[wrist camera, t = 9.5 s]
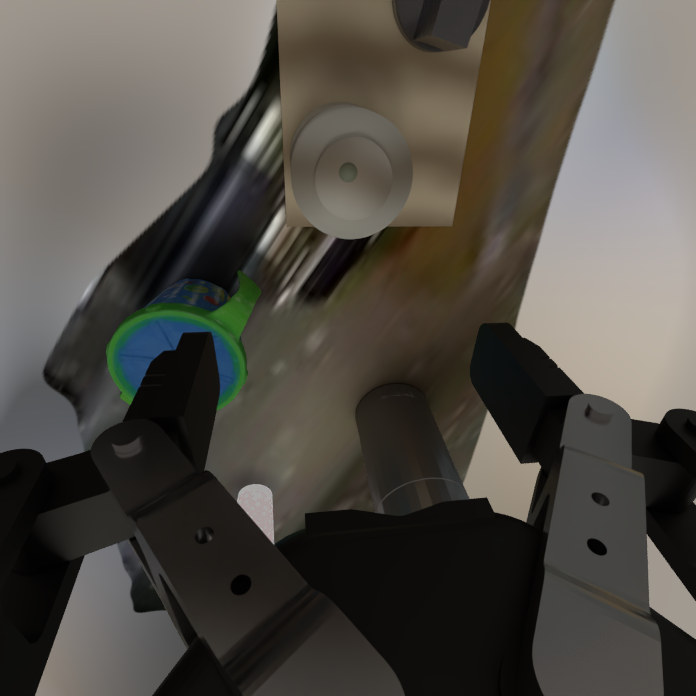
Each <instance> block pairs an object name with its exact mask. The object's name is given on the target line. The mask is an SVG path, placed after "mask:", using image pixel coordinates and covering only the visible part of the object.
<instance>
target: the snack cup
mask: <svg viewBox="0 0 696 696" xmlns="http://www.w3.org/2000/svg"><path fill="white" fill-rule="evenodd" d="M237 274H238V277H239V283H240V286H239V290H238V291H237V292H236V294H235V295H233V296H232V297H230V296H229V294H228V293H227V292H226V290H224V289H223V288H222V287H219V286H217V285H215V284H213V283H211V282H208V281H205V280H201V279H189V278H186V279H182V280H179V281H178V282H176V283H174V284H172V285H170V286H169V287H168V288H166V289H165V290H163V291H162V292H161V293H160V294H159V295H158V296H157V297H155V298H154V299H153V300H152V301H151V302H150V303H149V304H147V305H146V306H145V307H144V308H142V309H140V310H138V311H137V312H135V313H133V314H131V315H130V316H128V317H127V318H126V319H125V320H124V321H123V322H122V323H121V324H120V325H119V327H118V328H117V330H116V331H115V333H114V335H113V337H112V339H111V341H109V343H108V344H107V349H106V354H107V363H108V368H109V371H110V374H111V376H112V378H113V380H114V382H115V383H116V385H117V386H118V388H119V389H120V390H121V393H120V398H121V399H122V400H124V401H125V402H127V403H128V404H130V405H131V403H132V401H133V399H134V396H135V394H136V392H137V390H138V388H139V387H140V384H141V382H142V380H143V377H144V376H145V373H146V371H147V369H148V367H149V365H150V363H151V361H152V360H153V359H155V358H156V357H157V356H158V355H159V354H161V353H162V352H163V351H167V350H176V348H177V345H178V343H179V340H180V338H181V335H182V333H184V332H211V333H212V336H213V340H214V346H215V353H216V359H217V365H218V371H219V377H220V396H219V401H218V406H217V410H219V409H221V408H223V407H224V406H226V405H227V404H229V403H230V402H231V401H232V400H233V399H234V398H235V397H236V395H237V394H238V393H239V391H240V389H241V387H242V385H243V384H245V382H246V379H247V376H248V371H247V369H246V368H247V366H246V365H247V359H246V353H245V350H244V346H243V344H242V342H241V333H242V331H243V329H244V327H245V325H246V324H247V321H248V318H249V317H250V315H251V313H252V310H253V308H254V305H255V303H256V301H257V299H258V298H259V296H260V294H261V290H260V289H259V287H258V286H257V285H256V284H255V283H254V282H253V281H252V280H251V279H250V278H248V277H247V276H246V275H245V274H244V273H243V272H241V271H238V272H237Z"/></svg>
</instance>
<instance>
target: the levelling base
mask: <svg viewBox="0 0 696 696" xmlns="http://www.w3.org/2000/svg"><path fill="white" fill-rule="evenodd" d="M490 3H491V0H490V1H489V5H488V8H487V11H486V13H485V16H484V18H483V20H482V22H481V24H480V25H479V27H478V28H477V30H476V31H475V32H474V33H473V35H472V36H471V38H470V41H469V44H468V47H467V48H465V49H459V50H452V51H446V52H435V53H430V52H424V51H421V50H419V49H417V48H415V47H413V46H412V45H411V44H410V43H409V42H407V40H406V39H405V38H404V37H403V35H402V34H401V32H400V30H399V28H398V26H397V24H396V21H395V18H394V13H393V6H392V0H277V21H278V43H279V65H280V88H281V110H282V132H283V155H284V177H285V199H286V221H287V227H316V228H317V229H319V230H320V231H322V232H324V233H326V234H328V235H330V236H333V237H336V238H342V239H359V238H364V237H367V236H370V235H373V234H375V233H377V232H379V231H381V230H382V229H384V228H385V227H387V226H452V224H453V219H454V213H455V207H456V201H457V195H458V189H459V184H460V178H461V172H462V166H463V160H464V154H465V149H466V143H467V137H468V131H469V125H470V120H471V114H472V108H473V102H474V96H475V90H476V85H477V79H478V73H479V67H480V61H481V55H482V50H483V44H484V38H485V32H486V26H487V21H488V15H489V9H490Z"/></svg>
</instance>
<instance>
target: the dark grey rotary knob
mask: <svg viewBox="0 0 696 696" xmlns="http://www.w3.org/2000/svg"><path fill="white" fill-rule="evenodd" d="M489 1H490V0H392V6H393V13H394V18H395V21H396V24H397V26H398V28H399V30H400V32H401V34H402V35H403V37H404V38H405V39H406V40H407V42H409V43H410V44H411V45H412V46H413V47H415V48H417V49H419V50H421V51H424V52H430V53H435V52H446V51H452V50H459V49H465V48H467V47H468V44H469V41H470V38H471V36H472V35H473V33H474V32H475V31H476V30H477V28H478V27H479V25H480V24H481V22H482V20H483V18H484V16H485V13H486V11H487V8H488V5H489Z"/></svg>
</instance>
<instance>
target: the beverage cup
mask: <svg viewBox="0 0 696 696" xmlns="http://www.w3.org/2000/svg"><path fill="white" fill-rule="evenodd" d="M237 502H238V504H239V505H240V506H241V507H242V508H243V509H244V511H245V512H246V513H247V514H248V515H249V516H250V517H251V519H252V520H253V521H254V522H255V523H256V524H257V526H258V527H259V528H260V529H261V530H262V531H263V532H264V534H265V535H266V536H267V537H268V538H269V539H270V541H271V542H272V543H273V544H274V528H273V504H272V492H271V490H270V489H269V488H268V487H266V486H263V485H260V484H252V485H248V486H246V487H244V488H242V489H241V490H240V492H239V495H238V500H237Z"/></svg>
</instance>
